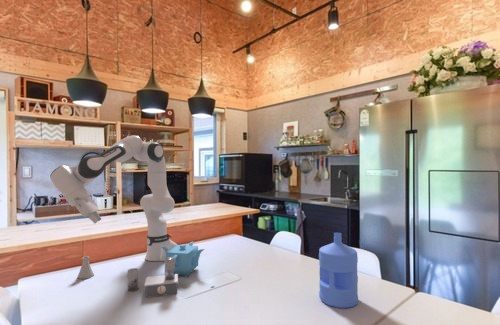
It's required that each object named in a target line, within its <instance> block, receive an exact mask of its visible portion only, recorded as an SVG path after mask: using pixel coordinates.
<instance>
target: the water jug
mask: <svg viewBox="0 0 500 325" xmlns="http://www.w3.org/2000/svg"><path fill="white" fill-rule="evenodd" d="M342 238H343V237H342V233H341V232H333V242H331V243H328V244H326V245H323V246H321V247H319V250H318V251H319V253H318V260H319V261H318V263H319V264H318V265H319V291H318V294H319V298H320V300H321V302H322V303H324V304H326V305H327V306H330V307H333V308H338V309H347V308H353V307H355V306H356V305H358V302H359V295H358V294H359V292H358V291H359V290H358V287H359V286H358V283H359V282H358V281H359V276H358V262H359V261H358V260H359V257H358V252H357V250H356V249H355V248H353V247H351V246H349V245H346V244H344V243H343V242H342Z"/></svg>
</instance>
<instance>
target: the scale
mask: <svg viewBox="0 0 500 325" xmlns="http://www.w3.org/2000/svg"><path fill="white" fill-rule="evenodd" d="M178 283H179V274H175V279H173V280H165V274H163V275H155V276H147V277H145V281H144V287H145V298H151V297H152V298H154V297H161V296H168V295H169V296H170V295H177V294H178Z"/></svg>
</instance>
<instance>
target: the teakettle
mask: <svg viewBox="0 0 500 325" xmlns="http://www.w3.org/2000/svg"><path fill="white" fill-rule="evenodd" d="M193 244H194V241H190V242H189V245H187V244H177V246H176V247H174V248H172V249H171V250H168V248H166V247H161V248H163V249H164V250H165V252H166V258H168V257H174V258H175V274H178V275H182V276H183V277H186V278H187V277H189V276H190V274H191V273H192V272H194V271H195V269H197V267H199V259H200V256H201V254H202V253H203V252H204V251H205V250H206V249H205V248H202V249H199V246H198V245H193Z"/></svg>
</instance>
